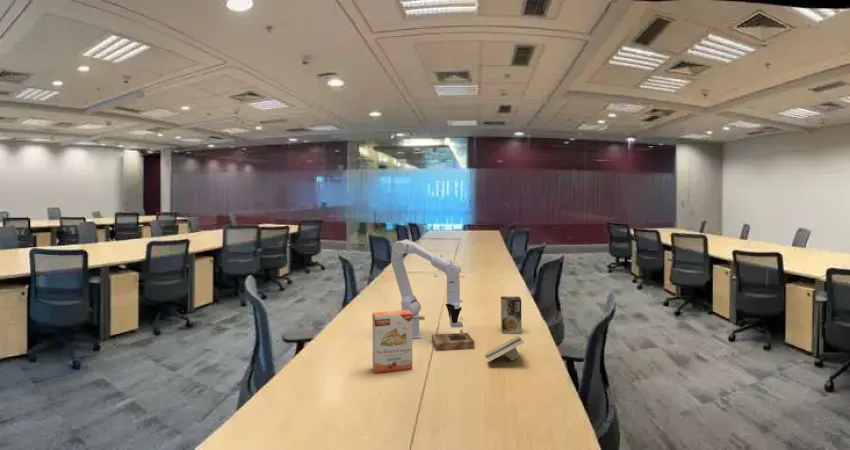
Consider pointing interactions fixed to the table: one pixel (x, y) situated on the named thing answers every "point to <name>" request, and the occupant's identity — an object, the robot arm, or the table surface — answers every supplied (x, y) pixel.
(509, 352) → the grey slanted stand
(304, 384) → the table surface
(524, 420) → the table surface
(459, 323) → the grey block
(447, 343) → the well block
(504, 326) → the coffee box
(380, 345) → the cracker box
